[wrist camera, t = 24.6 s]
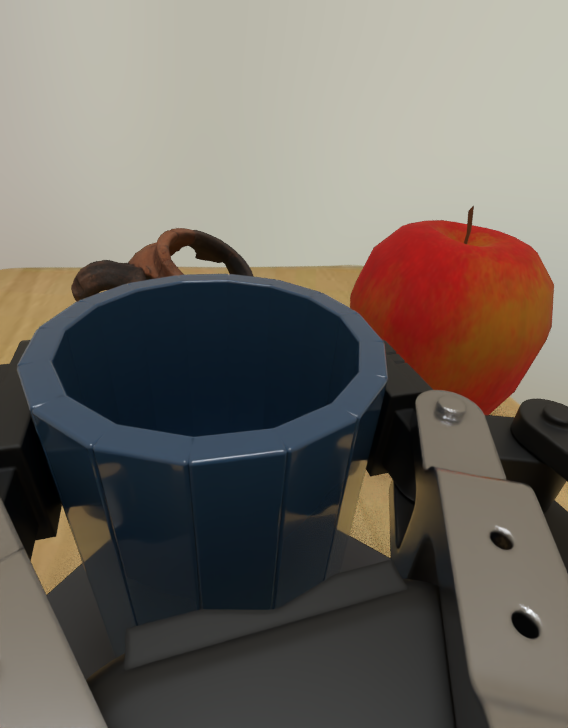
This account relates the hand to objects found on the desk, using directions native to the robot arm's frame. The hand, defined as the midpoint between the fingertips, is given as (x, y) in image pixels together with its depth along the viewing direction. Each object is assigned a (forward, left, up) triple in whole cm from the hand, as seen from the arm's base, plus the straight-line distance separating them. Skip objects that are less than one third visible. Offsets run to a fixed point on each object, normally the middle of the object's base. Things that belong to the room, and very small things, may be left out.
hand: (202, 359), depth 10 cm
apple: (+13, -4, -10) cm, 17 cm away
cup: (-2, -2, -6) cm, 7 cm away
